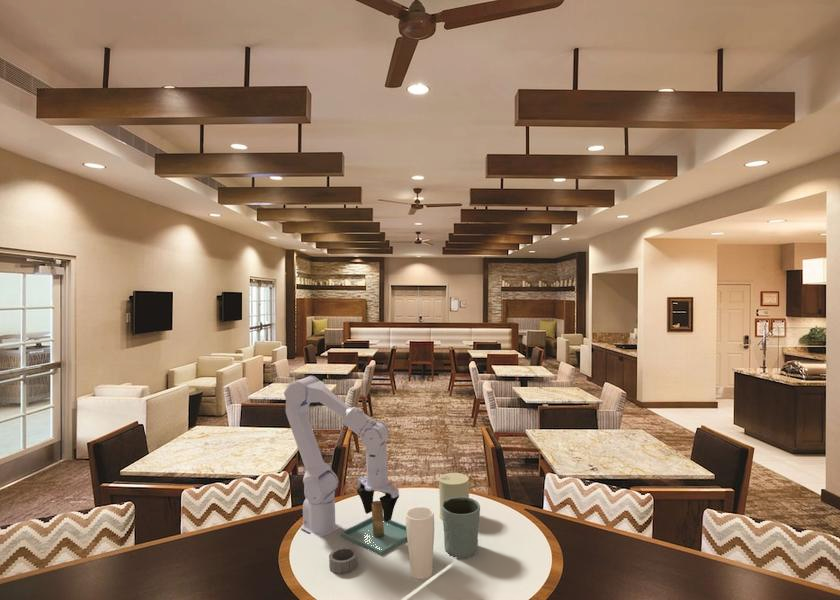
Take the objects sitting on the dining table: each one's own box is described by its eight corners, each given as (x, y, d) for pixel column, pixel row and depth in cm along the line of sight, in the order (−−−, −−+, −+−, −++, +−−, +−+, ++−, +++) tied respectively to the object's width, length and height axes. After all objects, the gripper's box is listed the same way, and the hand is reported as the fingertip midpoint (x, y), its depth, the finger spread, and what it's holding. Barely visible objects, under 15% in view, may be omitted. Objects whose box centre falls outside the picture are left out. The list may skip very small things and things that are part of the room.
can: (441, 508, 152) (439, 470, 152) (470, 509, 151) (469, 471, 151) (438, 522, 143) (436, 482, 143) (469, 524, 142) (468, 483, 142)
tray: (340, 538, 136) (340, 532, 136) (377, 519, 146) (377, 514, 146) (380, 557, 125) (380, 551, 125) (417, 536, 136) (416, 530, 136)
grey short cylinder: (324, 569, 121) (323, 555, 121) (345, 557, 126) (344, 544, 126) (341, 579, 116) (341, 565, 116) (363, 566, 122) (362, 553, 121)
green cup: (453, 536, 135) (452, 493, 135) (487, 545, 130) (486, 501, 130) (435, 554, 126) (434, 508, 126) (471, 564, 121) (470, 517, 121)
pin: (371, 535, 136) (369, 504, 135) (378, 531, 138) (376, 499, 138) (378, 538, 134) (377, 506, 133) (386, 534, 136) (384, 502, 136)
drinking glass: (433, 584, 114) (431, 520, 113) (404, 581, 115) (402, 518, 115) (437, 568, 120) (436, 507, 120) (410, 565, 122) (409, 506, 121)
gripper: (348, 466, 137) (350, 514, 138) (384, 478, 128) (386, 529, 128) (367, 459, 142) (368, 505, 143) (403, 470, 133) (404, 519, 133)
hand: (378, 516), depth 136 cm, fingers open, 7 cm apart
